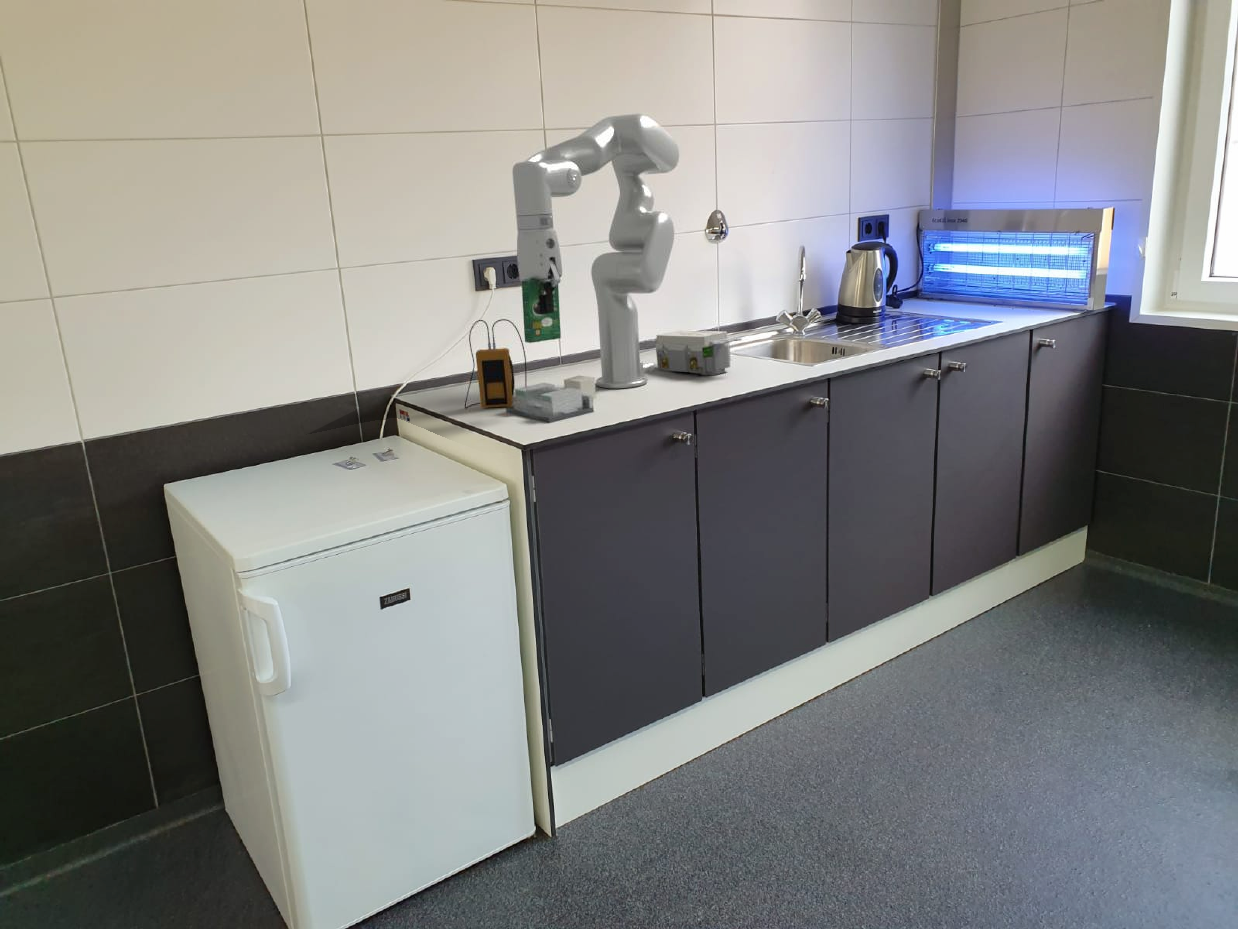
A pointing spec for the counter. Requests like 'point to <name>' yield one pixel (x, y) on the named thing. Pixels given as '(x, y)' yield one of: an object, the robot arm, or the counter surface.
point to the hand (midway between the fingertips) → (542, 312)
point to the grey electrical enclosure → (693, 351)
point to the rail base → (550, 402)
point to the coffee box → (539, 314)
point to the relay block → (582, 384)
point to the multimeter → (495, 374)
